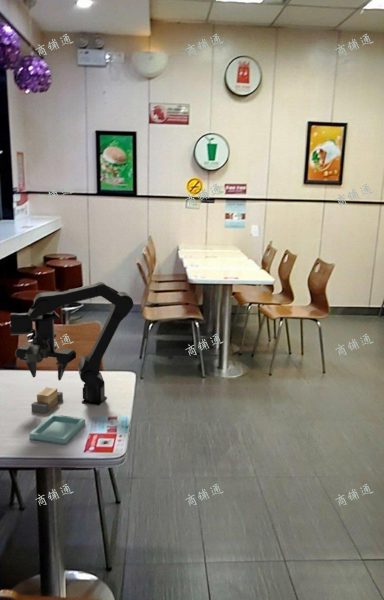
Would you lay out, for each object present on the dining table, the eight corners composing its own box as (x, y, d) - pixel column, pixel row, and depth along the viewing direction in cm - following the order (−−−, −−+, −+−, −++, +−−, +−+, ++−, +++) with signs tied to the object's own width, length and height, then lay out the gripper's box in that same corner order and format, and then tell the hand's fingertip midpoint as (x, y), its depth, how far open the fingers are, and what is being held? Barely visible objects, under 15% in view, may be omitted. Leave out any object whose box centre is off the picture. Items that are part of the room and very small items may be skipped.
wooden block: (57, 402, 164) (57, 388, 163) (48, 410, 158) (47, 395, 157) (46, 401, 165) (46, 387, 164) (37, 408, 159) (36, 394, 158)
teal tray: (85, 423, 150) (85, 418, 149) (64, 444, 137) (64, 438, 137) (52, 419, 152) (52, 413, 152) (29, 439, 140) (29, 433, 139)
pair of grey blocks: (62, 399, 166) (62, 392, 166) (45, 413, 156) (45, 406, 155) (49, 397, 167) (49, 390, 167) (31, 411, 157) (31, 404, 156)
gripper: (3, 337, 150) (6, 384, 154) (58, 342, 146) (60, 391, 150) (24, 327, 161) (26, 372, 165) (76, 332, 157) (77, 378, 160)
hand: (46, 378), depth 159 cm, fingers open, 9 cm apart
